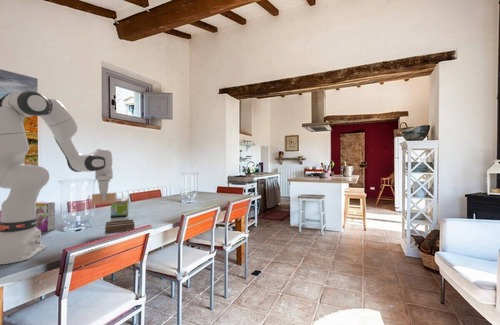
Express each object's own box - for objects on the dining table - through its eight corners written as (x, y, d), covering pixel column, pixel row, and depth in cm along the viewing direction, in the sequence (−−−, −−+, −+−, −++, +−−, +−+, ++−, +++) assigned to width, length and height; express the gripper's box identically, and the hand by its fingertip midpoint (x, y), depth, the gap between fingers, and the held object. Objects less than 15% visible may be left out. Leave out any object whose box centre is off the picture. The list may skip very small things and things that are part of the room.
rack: (134, 229, 143) (134, 223, 143) (105, 232, 136) (105, 226, 136) (133, 224, 154) (133, 219, 154) (106, 227, 146) (106, 222, 146)
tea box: (127, 222, 160) (127, 200, 160) (110, 223, 156) (110, 201, 156) (128, 217, 174) (128, 197, 174) (112, 218, 170) (112, 198, 170)
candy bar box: (29, 231, 138) (30, 202, 138) (38, 228, 143) (38, 201, 143) (47, 231, 137) (47, 203, 137) (55, 229, 142) (55, 201, 142)
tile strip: (115, 203, 144) (115, 193, 144) (92, 204, 138) (92, 194, 138) (115, 202, 147) (115, 192, 146) (92, 204, 141) (92, 194, 140)
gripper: (98, 175, 150) (99, 197, 150) (96, 177, 132) (96, 202, 132) (110, 174, 153) (110, 196, 153) (109, 177, 135) (110, 201, 135)
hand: (104, 199), depth 142 cm, fingers closed on tile strip, 2 cm apart
